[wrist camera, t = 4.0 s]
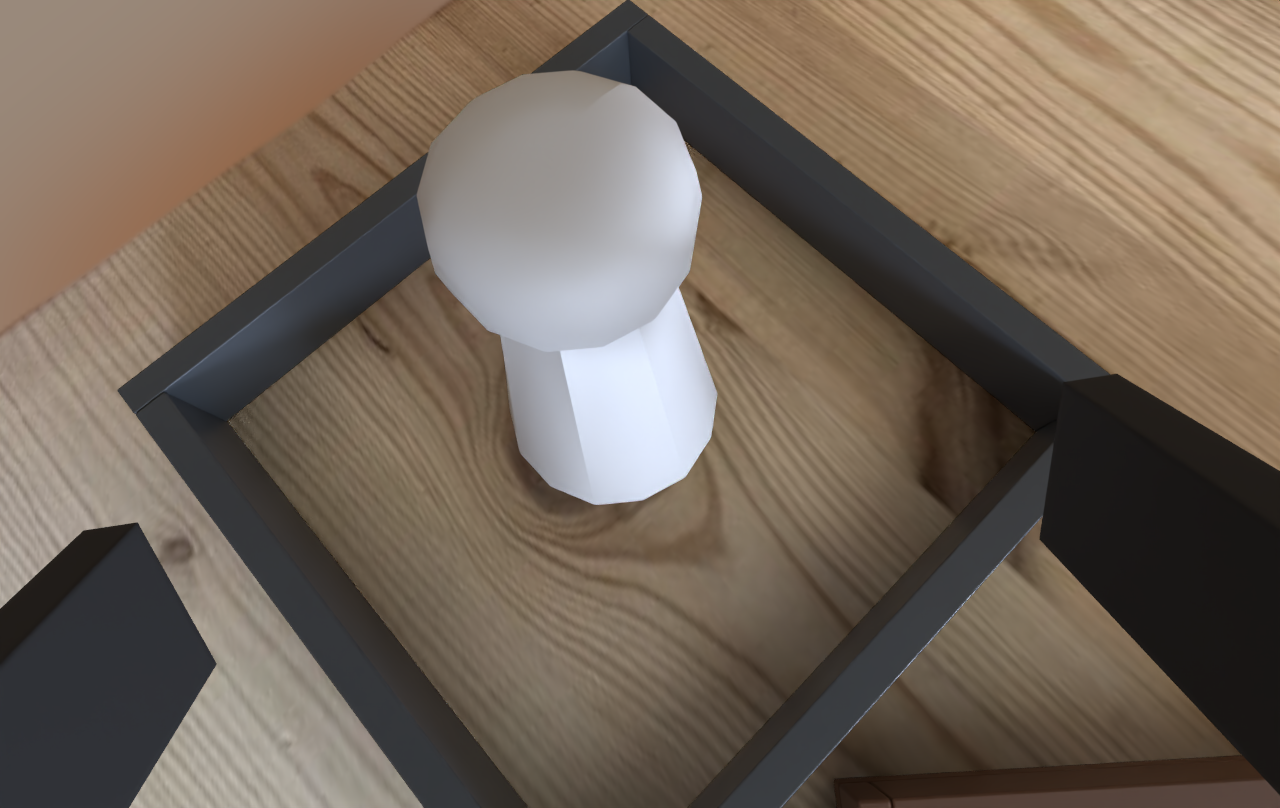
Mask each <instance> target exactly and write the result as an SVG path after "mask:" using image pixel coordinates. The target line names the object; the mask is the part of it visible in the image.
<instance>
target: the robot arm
mask: <svg viewBox="0 0 1280 808" xmlns="http://www.w3.org/2000/svg"><path fill="white" fill-rule="evenodd" d="M1040 540H1041V541H1042V542H1043V543H1044V545H1045V546H1046V547H1047V548H1048V549H1049V550H1050V551H1051V552H1052V553H1053V554H1054V555H1055V556H1056V557H1057V558H1058V559H1059V561H1060V562H1061V563H1062V564H1063V565H1064V566H1065V567H1066V568H1067V569H1068V570H1069V571H1070V572H1071V573H1072V574H1073V575H1074V576H1075V578H1076V579H1077V580H1078V581H1079V582H1080V583H1081V584H1082V585H1083V586H1084V587H1085V588H1086V589H1087V590H1088V591H1089V592H1090V594H1091V595H1092V596H1093V597H1094V598H1095V599H1096V600H1097V601H1098V602H1099V603H1100V604H1101V605H1102V606H1103V607H1104V608H1105V610H1106V611H1107V612H1108V613H1109V614H1110V615H1111V616H1112V617H1113V618H1114V619H1115V620H1116V621H1117V622H1118V623H1119V624H1120V626H1121V627H1122V628H1123V629H1124V630H1125V631H1126V632H1127V633H1128V634H1129V635H1130V636H1131V637H1132V638H1133V639H1134V640H1135V641H1136V643H1137V644H1138V645H1139V646H1140V647H1141V648H1142V649H1143V650H1144V651H1145V652H1146V653H1147V654H1148V655H1149V656H1150V657H1151V659H1152V660H1153V661H1154V662H1155V663H1156V664H1157V665H1158V666H1159V667H1160V668H1161V669H1162V670H1163V671H1164V672H1165V673H1166V675H1167V676H1168V677H1169V678H1170V679H1171V680H1172V681H1173V682H1174V683H1175V684H1176V685H1177V686H1178V687H1179V688H1180V689H1181V690H1182V692H1183V693H1184V694H1185V695H1186V696H1187V697H1188V698H1189V699H1190V700H1191V701H1192V702H1193V703H1194V704H1195V705H1196V706H1197V708H1198V709H1199V710H1200V711H1201V712H1202V713H1203V714H1204V715H1205V716H1206V717H1207V718H1208V719H1209V720H1210V721H1211V722H1212V724H1213V725H1214V726H1215V727H1216V728H1217V729H1218V730H1219V731H1220V732H1221V733H1222V734H1223V735H1224V736H1225V737H1226V738H1227V740H1228V741H1229V742H1230V743H1231V744H1232V745H1233V746H1234V747H1235V748H1236V749H1237V750H1238V751H1239V752H1240V753H1241V754H1242V755H1243V757H1244V758H1245V759H1246V760H1247V761H1248V762H1249V763H1250V764H1251V765H1252V766H1253V767H1254V768H1255V769H1256V770H1257V771H1258V773H1259V774H1260V775H1261V776H1262V777H1263V778H1264V779H1265V780H1266V781H1267V782H1268V783H1269V784H1270V785H1271V786H1272V787H1273V789H1274V790H1275V791H1276V792H1277V793H1278V794H1279V795H1280V471H1279V470H1277V469H1275V468H1274V467H1272V466H1270V465H1269V464H1267V463H1265V462H1264V461H1262V460H1260V459H1259V458H1257V457H1255V456H1254V455H1252V454H1250V453H1249V452H1247V451H1245V450H1244V449H1242V448H1240V447H1238V446H1237V445H1235V444H1233V443H1232V442H1230V441H1228V440H1227V439H1225V438H1223V437H1222V436H1220V435H1218V434H1217V433H1215V432H1213V431H1212V430H1210V429H1208V428H1207V427H1205V426H1203V425H1202V424H1200V423H1198V422H1197V421H1195V420H1193V419H1192V418H1190V417H1188V416H1187V415H1185V414H1183V413H1182V412H1180V411H1178V410H1177V409H1175V408H1173V407H1172V406H1170V405H1168V404H1167V403H1165V402H1163V401H1161V400H1160V399H1158V398H1156V397H1155V396H1153V395H1151V394H1150V393H1148V392H1146V391H1145V390H1143V389H1141V388H1140V387H1138V386H1136V385H1135V384H1133V383H1131V382H1130V381H1128V380H1126V379H1125V378H1123V377H1121V376H1120V375H1118V374H1113V375H1106V376H1099V377H1093V378H1086V379H1080V380H1073V381H1066V382H1063V384H1062V391H1061V398H1060V405H1059V411H1058V418H1057V425H1056V431H1055V438H1054V445H1053V452H1052V458H1051V465H1050V472H1049V478H1048V485H1047V492H1046V499H1045V505H1044V512H1043V519H1042V525H1041V532H1040ZM215 666H216V662H215V660H214V658H213V656H212V655H211V653H210V651H209V649H208V648H207V646H206V644H205V642H204V640H203V639H202V637H201V635H200V633H199V631H198V630H197V628H196V626H195V624H194V623H193V621H192V619H191V617H190V615H189V614H188V612H187V610H186V608H185V606H184V605H183V603H182V601H181V599H180V598H179V596H178V594H177V592H176V590H175V589H174V587H173V585H172V583H171V581H170V580H169V578H168V576H167V574H166V572H165V571H164V569H163V567H162V565H161V564H160V562H159V560H158V558H157V556H156V555H155V553H154V551H153V549H152V547H151V546H150V544H149V542H148V540H147V539H146V537H145V535H144V533H143V531H142V530H141V528H140V526H139V524H138V522H137V523H131V524H124V525H118V526H111V527H104V528H98V529H91V530H85V531H83V532H82V533H81V534H79V535H78V536H77V537H76V538H75V539H74V540H73V541H72V542H71V543H70V544H69V545H68V546H67V547H66V548H65V549H63V550H62V551H61V552H60V553H59V554H58V555H57V556H56V557H55V558H54V559H53V560H52V561H51V562H50V563H49V564H47V565H46V566H45V567H44V568H43V569H42V570H41V571H40V572H39V573H38V574H37V575H36V576H35V577H34V578H33V579H32V580H30V581H29V582H28V583H27V584H26V585H25V586H24V587H23V588H22V589H21V590H20V591H19V592H18V593H17V594H16V595H14V596H13V597H12V598H11V599H10V600H9V601H8V602H7V603H6V604H5V605H4V606H3V607H2V608H1V609H0V808H129V807H130V805H131V803H132V802H133V800H134V799H135V797H136V795H137V794H138V792H139V790H140V789H141V787H142V785H143V784H144V782H145V781H146V779H147V777H148V776H149V774H150V772H151V771H152V769H153V767H154V766H155V764H156V763H157V761H158V759H159V758H160V756H161V754H162V753H163V751H164V749H165V748H166V746H167V745H168V743H169V741H170V740H171V738H172V736H173V735H174V733H175V731H176V730H177V728H178V727H179V725H180V723H181V722H182V720H183V718H184V717H185V715H186V713H187V712H188V710H189V709H190V707H191V705H192V704H193V702H194V700H195V699H196V697H197V695H198V694H199V692H200V691H201V689H202V687H203V686H204V684H205V682H206V681H207V679H208V677H209V676H210V674H211V673H212V671H213V669H214V668H215Z"/></svg>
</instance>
